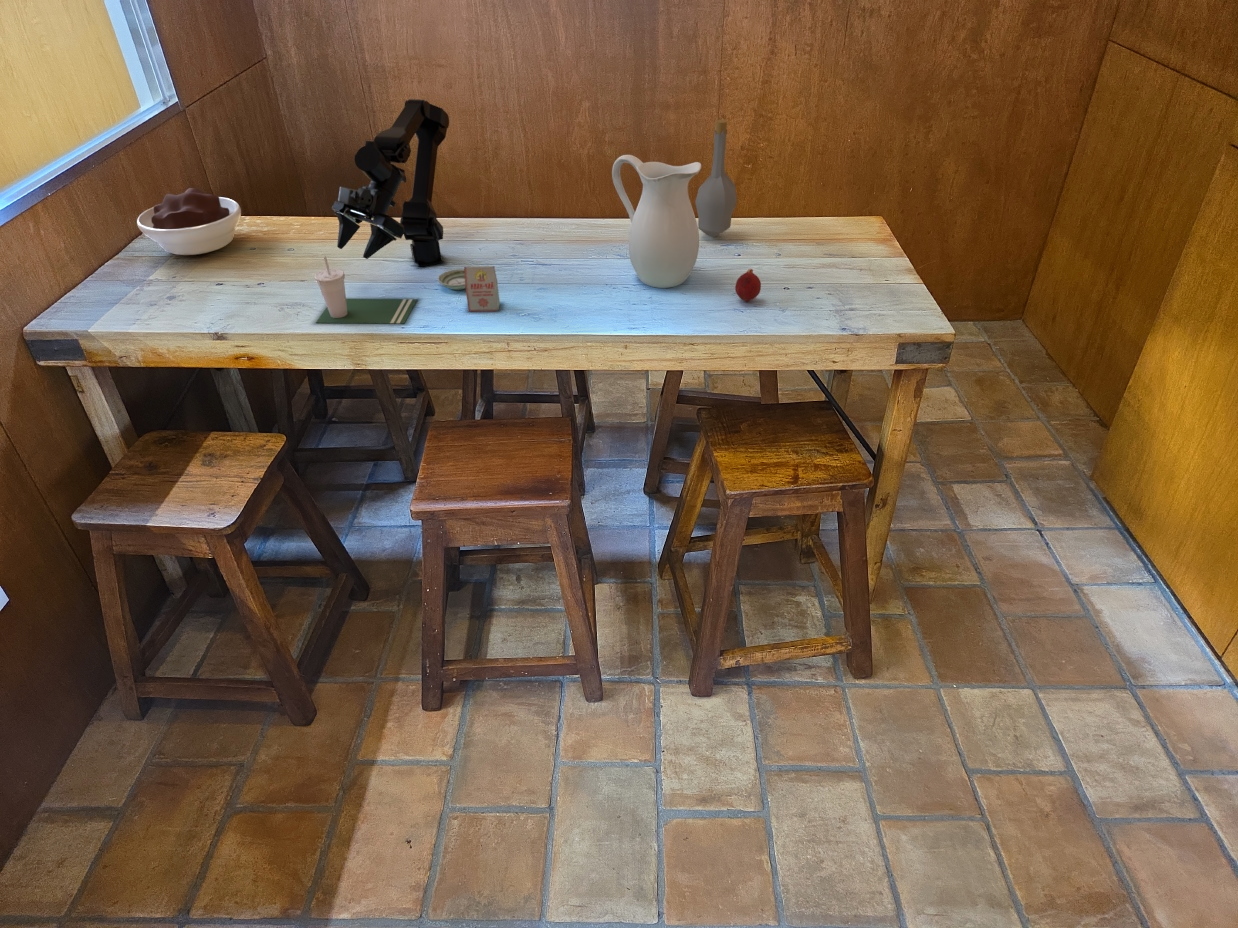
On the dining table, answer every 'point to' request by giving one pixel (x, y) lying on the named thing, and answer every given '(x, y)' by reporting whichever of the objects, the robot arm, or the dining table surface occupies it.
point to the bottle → (716, 190)
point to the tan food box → (481, 289)
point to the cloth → (373, 311)
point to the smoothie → (333, 290)
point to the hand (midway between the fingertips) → (351, 253)
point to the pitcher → (661, 222)
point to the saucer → (453, 279)
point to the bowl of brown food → (191, 222)
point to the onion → (748, 286)
